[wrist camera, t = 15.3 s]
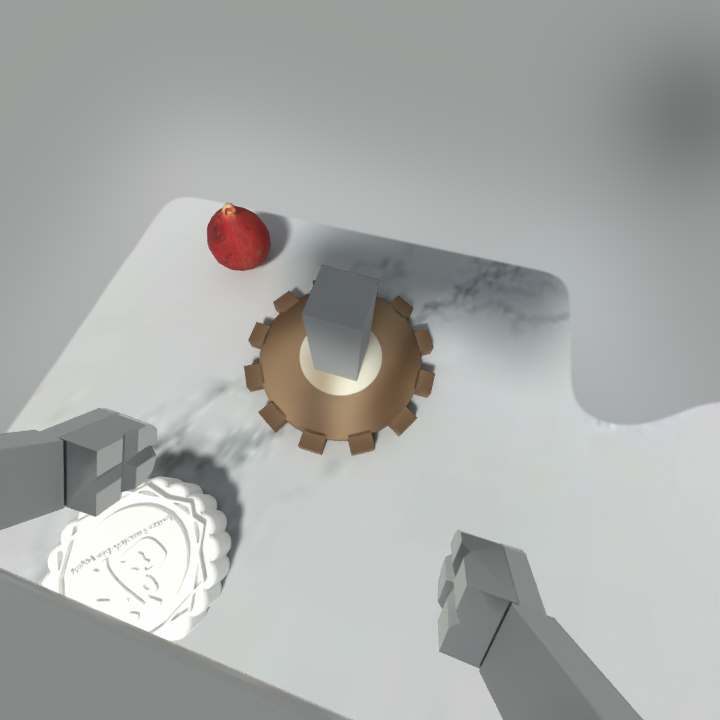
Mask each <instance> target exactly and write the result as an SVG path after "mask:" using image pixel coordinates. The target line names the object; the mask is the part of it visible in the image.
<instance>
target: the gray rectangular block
mask: <svg viewBox="0 0 720 720" xmlns="http://www.w3.org/2000/svg"><path fill="white" fill-rule="evenodd" d="M378 283H379V280H377V279H373V278H369V277H366V276H362V275H358V274H354V273H351V272H347V271H343V270H340V269H336V268H332V267H329V266H325V265H322V266H321V269H320V271H319V274H318V276H317V279H316V281H315V283H314V286H313V288H312V291H311V293H310V296H309V298H308V300H307V303H306V305H305V308H304V310H303V313H302V317H303V321H304V326H305V330H306V334H307V339H308V343H309V348H310V352H311V357H312V361H313V365H314V369H316V370H319V371H323V372H326V373H330V374H333V375H336V376H340V377H343V378H347V379H350V380H353V381H357V379H358V376H359V373H360V369H361V366H362V363H363V360H364V357H365V354H366V350H367V347H368V344H369V339H370V333H371V326H372V320H373V314H374V308H375V302H376V295H377V289H378Z"/></svg>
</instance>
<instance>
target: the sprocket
mask: <svg viewBox="0 0 720 720" xmlns="http://www.w3.org/2000/svg"><path fill="white" fill-rule="evenodd" d="M315 281H316V280H314V281H313V285H314V283H315ZM309 296H310V294H308V295H306V296H304V297H302V298H300V299H297V298H296V297H295V296H294V295H293V294H292V293H291V292H290V291H288V292H287V293H285V294H284V295H283V296H281V297H280V298H278V299H277V300H276V301H274V302H273V303H274V306H275V309H276V310H277V312H278V313H279V315H278V316H277V317H276V318H275V320H274V321H273V323H272V324H271V325H270V326H268V325H265V324H261V323H258V322H257V323H256V325H255V327H254V329H253V331H252V333H251V335H250V338H249V342H250V344H251V345H252V347H255V348H258V349H261V351H260V361H259V363H258V364H253V365H248V366H244V369H245V377H246V385H247V388H248V389H249V390H250V391H251V392H252V391H256V390H261V389H265V392H266V394H267V396H268V398H269V400H270V401H271V402H270V403H269V404H268V405H267V406H265V407H264V408H263V409H262V410H260V411H259V412H258V413H259V414H260V415H261V416H262V417H263V419H264V420H265V421H266V422H267V423H268V424H269V426H270V427H271V428H272V429H273V430H274V431H275V432H277V431H278V430H279V429H280V428H282V427H283V426H284V425H285V424H286V423H287V422H289V423H290V424H291V425H293V426H294V427H295V428H297V429H299V430H300V431H302V432H303V433H302V436H301V439H300V442H299V445H298V446H299V447H300V448H301V449H304V450H307V451H311V452H314V453H317V454H320V455H322V453H323V450H324V447H325V444H326V441H327V440H334V441H348V442H349V446H350V450H351V455H352V456H353V455H357V454H361V453H366V452H370V451H374V449H375V446H374V442H373V438H372V434H374V433H376V432H378V431H380V430H382V429H383V428H385V427H386V426H389V427H390V428H391V429H392V430H393V431H394V432H395V433H396V434H397V435H398V436H400V435H401V434H402V433H403V432H404V431H405V430H406V429H407V428H408V427H409V426H410V425H411V424H412V423H413V422H414V421H415V420H416V419H417V417H416V416H415V415H414V414H413V413H412V412H411V411H410V410H409V409H408V408H407V407H406V406H407V404H408V403H409V401H410V400H411V398H412V396H413V394H415V395H419V396H422V397H426V398H427V397H428V396H429V395H430V394H431V390H432V385H433V381H434V376H435V373H432V372H428V371H425V370H421V356H422V355H426V354H430V353H431V351H432V349H433V348H434V347H433V344H432V342H431V339H430V336H429V333H428V330H427V329H426V330H421V331H416V332H414V331H413V330H412V328H411V326H410V324H409V323H408V322H407V320H406V319H407V318H408V317H410V315H411V313H412V310H413V308H412V307H411V306H410V305H409V304H408V303H406V302H405V301H404V300H403V299H402V298H401V297H400V296H398V297H396V298H395V299H394V300H393V301H392V302H390V303H388V302H386V301H384V300H383V299H381V298H379V297H377V296H376V302H375V308H374V314H373V320H372V326H371V333H370V339H369V344H368V347H367V350H366V354H365V357H364V360H363V363H362V366H361V369H360V373H359V376H358V379H357V381H353V380H350V379H347V378H343V377H340V376H336V375H333V374H330V373H326V372H323V371H319V370H316V369H314V365H313V361H312V357H311V352H310V348H309V343H308V339H307V334H306V330H305V326H304V321H303V317H302V313H303V310H304V308H305V305H306V303H307V300H308V298H309Z"/></svg>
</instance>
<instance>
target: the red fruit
mask: <svg viewBox="0 0 720 720" xmlns="http://www.w3.org/2000/svg"><path fill="white" fill-rule="evenodd" d="M207 241H208V246H209V249H210V251H211V252H212V254H213V255H214V257H215V258H216V260H217V261H218V262H219V263H220V264H222V265H224V266H225V267H227V268H229V269H232V270H240V271H245V270H250V269H253V268H255V267H257V266H259V265H261V263H262V262H263V261H264V260H265V259H266V257H267V255H268V253H269V250H270V247H271V243H270V237H269V232H268V229H267V228H266V226H265V224H264V223H263V222H262V221H261V219H260V218H259V217H258V216H257V215H256V214H254V213H253V212H251V211H249V210H247V209H245V208H242V207H237V206H234V205H233V204H231V203H226V204H225V205H224V206H223V208H222V209H220V210H218V211H217V212H216V213H215V214H214V216H213V217H212V218H211V220H210V222H209V224H208V227H207Z"/></svg>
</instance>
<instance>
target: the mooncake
mask: <svg viewBox="0 0 720 720" xmlns="http://www.w3.org/2000/svg"><path fill="white" fill-rule="evenodd" d="M226 526H227V518H226V516H225V514H224V513H223V512H221V511H219V510H217V502H216V500H215V498H214V497H213V496H211V495H209V494H203V492H202V489H201V487H200V486H199V485H197V484H194V483H185V482H182V481H181V480H180V479H177V478H170V477H162V476H159V477H155V478H152V479H150V478H147V479H146V480H145V482H143V483H142V484H141V485H140V486H138V487H137V488H136V489H132V490H129V491H125V492H122V496H121V499H120V500H119V501H118V502H116V503H115V504H114V505H112V506H111V507H109V508H108V509H107V510H105V511H104V512H102V513H101V514H100V515H98V516H97V517H94V516H91V515H88V514H86V513H83V512H80V513H79V518H77V519H74V520H72V521H71V522H69V523H68V524H67V525H66V526H65V528H64V529H63V531H62V534H61V543H60V544H58V545H57V546H56V547H55V548H54V549H53V550H52V552H51V553H50V555H49V558H48V567H49V569H50V572H49V573H48V574H47V575H46V577H45V578H44V580H43V582H42V586H43V587H46V588H48V589H50V590H53V591H55V592H57V593H60V594H62V595H64V596H67V597H69V598H71V599H74V600H76V601H78V602H81V603H83V604H85V605H87V606H90V607H92V608H94V609H97V610H99V611H101V612H104V613H106V614H108V615H111V616H113V617H115V618H117V619H120V620H122V621H124V622H127V623H129V624H131V625H134V626H136V627H138V628H141V629H143V630H145V631H148V632H150V633H152V634H154V635H157V636H159V637H161V638H164V639H166V640H168V641H171V642H173V643H175V644H177V643H178V642H179V641H180V640H181V639H182V638H183V637H185V636H186V635H187V634H188V633H190V632H191V631H192V630H193V629H194V628H195V627H197V626H198V625H199V624H200V623H201V622H202V621H203V620H204V618H205V616H206V613H207V608H208V607H209V606H211V605H212V604H213V603H214V602H215V601H216V600H217V599H218V597H219V596H220V593H221V589H222V585H221V580H222V579H224V577H225V576H226V575H227V573H228V571H229V567H230V562H229V558H228V557H227V555H226V554H227V553H228V552H229V550H230V548H231V537H230V535H229V534H228V533H227V532H226V531H225V529H226Z"/></svg>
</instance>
